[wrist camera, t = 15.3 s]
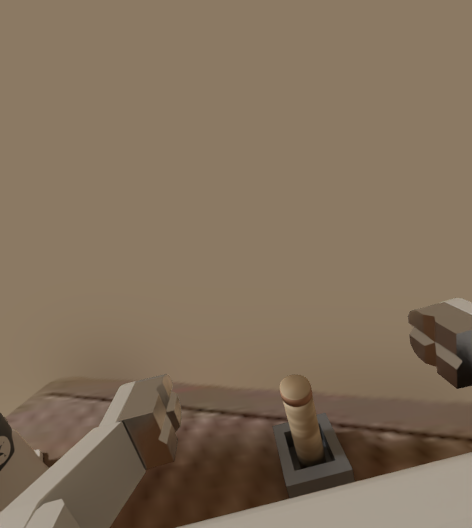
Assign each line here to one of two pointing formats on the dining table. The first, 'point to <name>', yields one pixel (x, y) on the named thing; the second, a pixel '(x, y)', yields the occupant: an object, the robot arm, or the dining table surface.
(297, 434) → the dowel
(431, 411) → the dining table surface
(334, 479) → the square socket block
